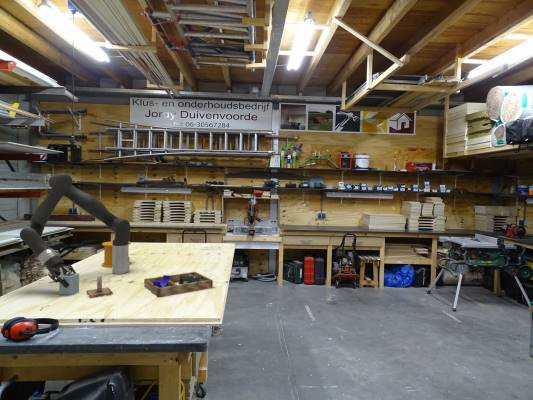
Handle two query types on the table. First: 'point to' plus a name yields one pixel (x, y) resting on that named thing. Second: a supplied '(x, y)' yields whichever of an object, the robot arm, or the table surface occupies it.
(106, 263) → the spool
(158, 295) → the frame
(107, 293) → the pin stand
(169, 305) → the table surface
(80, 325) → the table surface
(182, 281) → the bicycle component
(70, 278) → the collar
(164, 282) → the cable clip
